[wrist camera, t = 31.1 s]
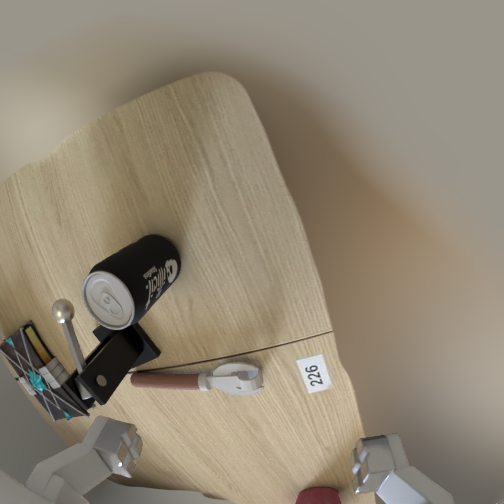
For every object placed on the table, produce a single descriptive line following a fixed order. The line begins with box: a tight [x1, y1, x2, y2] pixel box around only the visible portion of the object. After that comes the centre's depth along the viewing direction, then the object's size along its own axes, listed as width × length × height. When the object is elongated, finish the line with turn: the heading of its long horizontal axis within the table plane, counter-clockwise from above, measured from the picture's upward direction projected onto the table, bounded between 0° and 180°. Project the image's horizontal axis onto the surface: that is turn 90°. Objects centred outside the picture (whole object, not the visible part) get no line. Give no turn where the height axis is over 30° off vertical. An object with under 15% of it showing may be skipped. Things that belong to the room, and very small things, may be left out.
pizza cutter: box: [131, 362, 264, 396], centre depth 39 cm, size 20×6×3 cm, turn 107°
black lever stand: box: [62, 323, 161, 410], centre depth 34 cm, size 8×8×13 cm
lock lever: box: [52, 299, 92, 400], centre depth 30 cm, size 13×3×3 cm, turn 34°
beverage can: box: [82, 235, 181, 330], centre depth 29 cm, size 7×7×12 cm
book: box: [0, 321, 95, 422], centre depth 44 cm, size 22×17×5 cm
